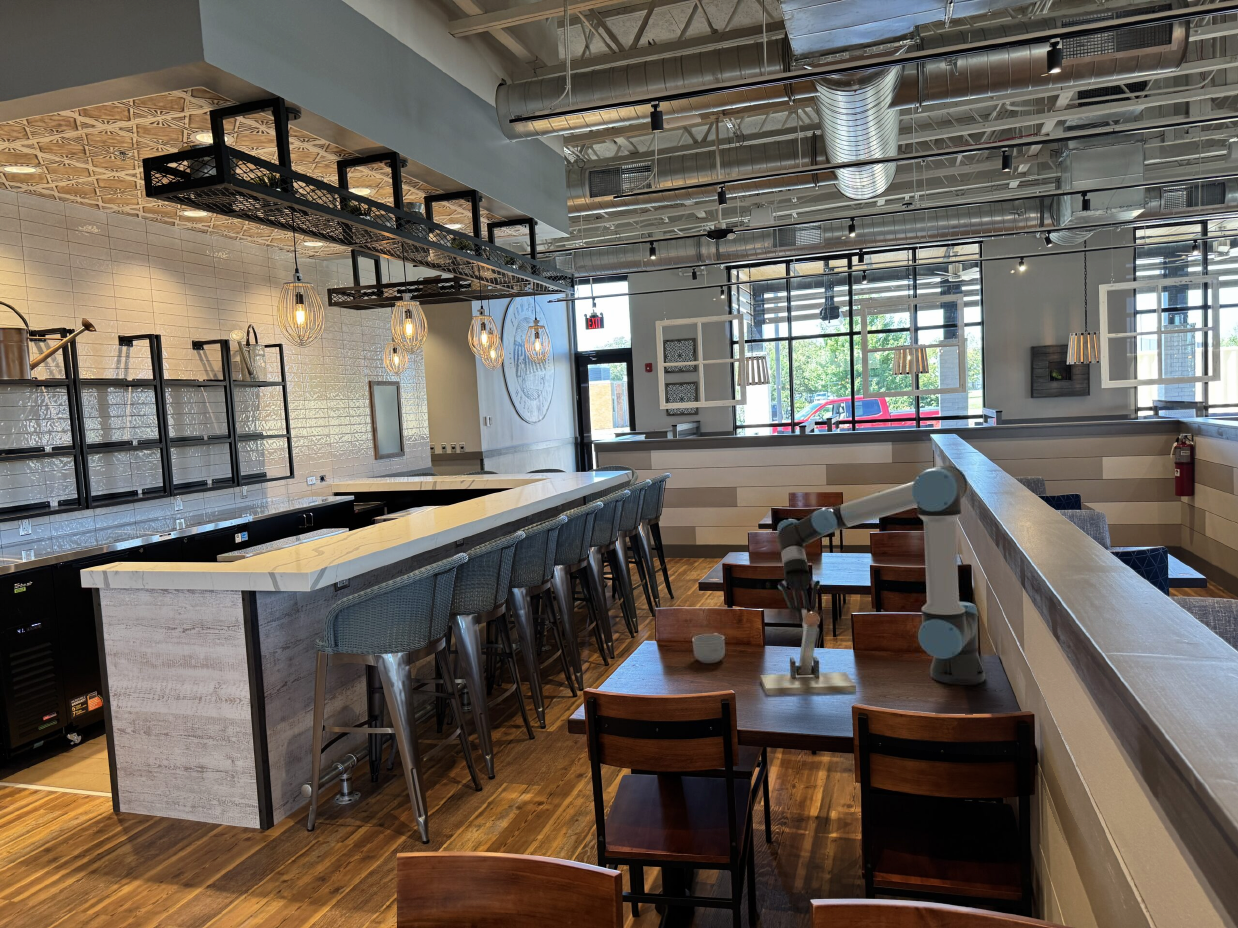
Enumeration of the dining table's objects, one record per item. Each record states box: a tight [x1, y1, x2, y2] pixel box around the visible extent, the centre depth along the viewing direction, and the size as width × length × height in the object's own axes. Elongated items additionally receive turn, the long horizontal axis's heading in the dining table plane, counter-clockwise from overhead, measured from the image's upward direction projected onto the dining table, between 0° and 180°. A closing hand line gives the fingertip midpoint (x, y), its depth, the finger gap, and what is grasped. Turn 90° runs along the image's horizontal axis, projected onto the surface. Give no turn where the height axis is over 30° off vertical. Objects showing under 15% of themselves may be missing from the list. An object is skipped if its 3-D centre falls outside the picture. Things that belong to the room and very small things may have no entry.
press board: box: [759, 656, 857, 696], centre depth 242 cm, size 26×12×8 cm, turn 88°
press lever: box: [796, 611, 821, 676], centre depth 238 cm, size 5×4×27 cm
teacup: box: [691, 632, 726, 664], centre depth 273 cm, size 14×11×8 cm
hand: (807, 631), depth 237 cm, fingers closed
